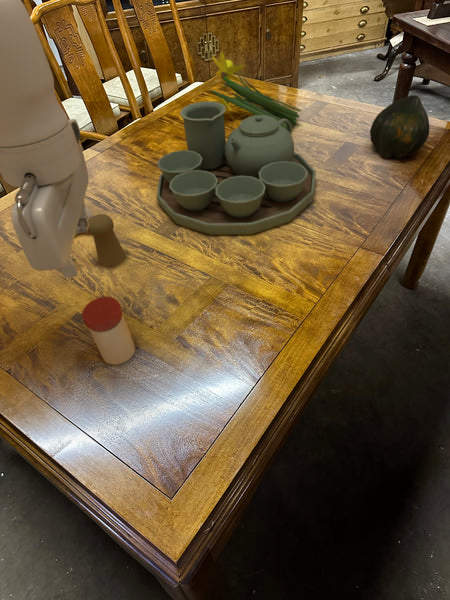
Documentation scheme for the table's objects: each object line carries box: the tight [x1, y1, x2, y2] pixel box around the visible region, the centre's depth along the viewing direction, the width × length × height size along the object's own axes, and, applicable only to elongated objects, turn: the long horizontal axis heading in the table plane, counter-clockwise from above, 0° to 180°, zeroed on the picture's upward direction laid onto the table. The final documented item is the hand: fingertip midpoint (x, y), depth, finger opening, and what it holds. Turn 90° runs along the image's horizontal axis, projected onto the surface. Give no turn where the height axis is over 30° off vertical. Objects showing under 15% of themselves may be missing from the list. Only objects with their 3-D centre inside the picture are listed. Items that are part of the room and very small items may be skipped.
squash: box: [369, 94, 430, 159], centre depth 111 cm, size 14×15×15 cm
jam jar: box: [87, 312, 136, 365], centre depth 70 cm, size 6×6×10 cm
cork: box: [87, 213, 127, 269], centre depth 87 cm, size 6×6×11 cm
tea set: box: [156, 100, 317, 236], centre depth 101 cm, size 40×40×16 cm
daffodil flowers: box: [205, 50, 302, 130], centre depth 132 cm, size 17×15×35 cm
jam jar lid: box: [81, 296, 124, 331], centre depth 66 cm, size 6×6×2 cm
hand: (78, 250), depth 57 cm, fingers open, 8 cm apart
